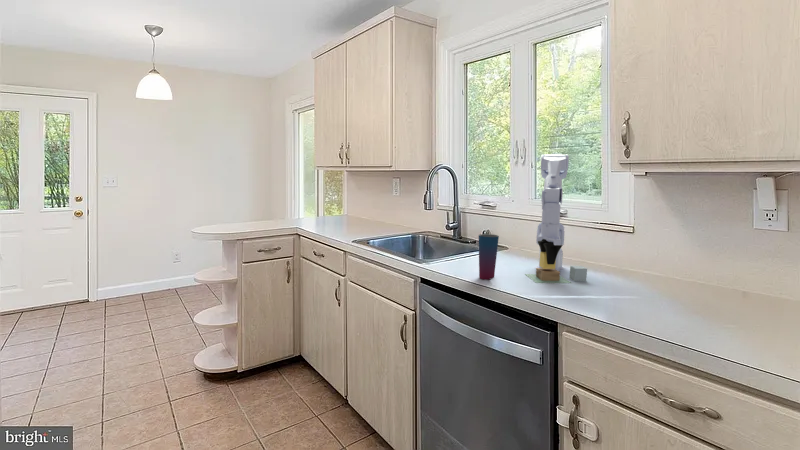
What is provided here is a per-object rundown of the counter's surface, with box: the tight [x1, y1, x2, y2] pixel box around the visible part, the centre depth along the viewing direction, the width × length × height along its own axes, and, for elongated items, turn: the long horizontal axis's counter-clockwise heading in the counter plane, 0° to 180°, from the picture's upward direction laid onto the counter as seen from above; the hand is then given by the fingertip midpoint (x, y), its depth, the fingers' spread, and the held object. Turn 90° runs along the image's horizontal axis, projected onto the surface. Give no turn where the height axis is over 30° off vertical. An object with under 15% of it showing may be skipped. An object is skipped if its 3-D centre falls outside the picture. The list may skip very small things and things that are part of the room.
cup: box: [478, 233, 500, 281], centre depth 146 cm, size 7×7×15 cm
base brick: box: [535, 268, 561, 281], centre depth 145 cm, size 6×6×3 cm
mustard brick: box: [539, 251, 556, 269], centre depth 144 cm, size 4×4×5 cm
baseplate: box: [524, 273, 572, 284], centre depth 145 cm, size 12×12×1 cm
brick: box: [569, 265, 588, 282], centre depth 144 cm, size 4×4×5 cm
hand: (548, 262), depth 145 cm, fingers closed on mustard brick, 4 cm apart
